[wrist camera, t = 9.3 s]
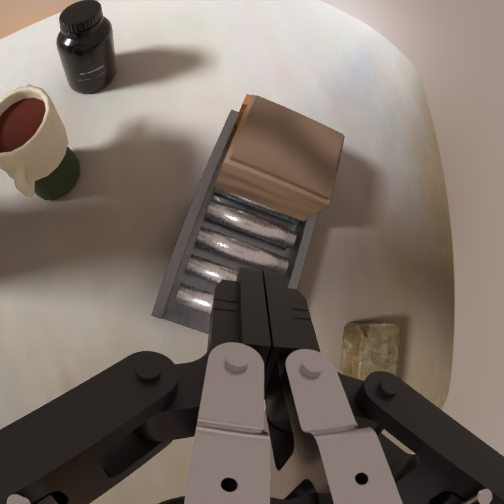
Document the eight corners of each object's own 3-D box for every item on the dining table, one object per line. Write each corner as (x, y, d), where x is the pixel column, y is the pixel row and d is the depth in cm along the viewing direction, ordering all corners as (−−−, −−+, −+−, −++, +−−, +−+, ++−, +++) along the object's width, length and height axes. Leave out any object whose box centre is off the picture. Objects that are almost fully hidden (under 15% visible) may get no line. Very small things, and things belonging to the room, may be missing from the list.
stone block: (379, 321, 38) (404, 322, 34) (371, 407, 36) (393, 417, 32) (340, 321, 37) (363, 323, 32) (332, 412, 35) (353, 424, 30)
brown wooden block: (303, 221, 34) (332, 203, 28) (213, 186, 32) (224, 158, 26) (319, 159, 36) (347, 133, 29) (238, 124, 34) (253, 90, 28)
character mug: (32, 142, 31) (-10, 83, 19) (83, 129, 33) (56, 60, 20) (31, 227, 30) (-26, 190, 17) (87, 214, 32) (47, 167, 19)
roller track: (268, 351, 34) (291, 361, 28) (152, 314, 32) (148, 317, 25) (322, 161, 40) (349, 137, 33) (227, 121, 37) (238, 88, 31)
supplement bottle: (93, 102, 34) (75, 38, 22) (59, 85, 33) (37, 24, 21) (127, 67, 35) (122, 1, 24) (93, 52, 34) (81, -10, 23)
